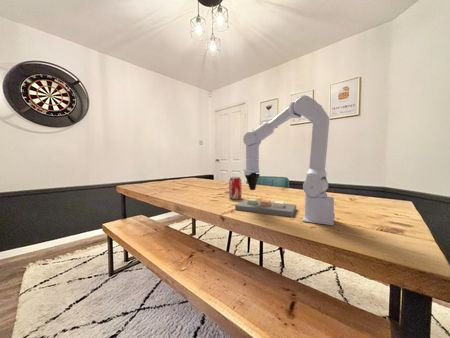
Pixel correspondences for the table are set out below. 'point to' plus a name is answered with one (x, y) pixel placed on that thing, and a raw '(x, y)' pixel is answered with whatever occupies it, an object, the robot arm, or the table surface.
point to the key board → (267, 209)
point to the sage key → (252, 201)
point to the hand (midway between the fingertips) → (252, 189)
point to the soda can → (235, 188)
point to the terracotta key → (265, 203)
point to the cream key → (279, 204)
